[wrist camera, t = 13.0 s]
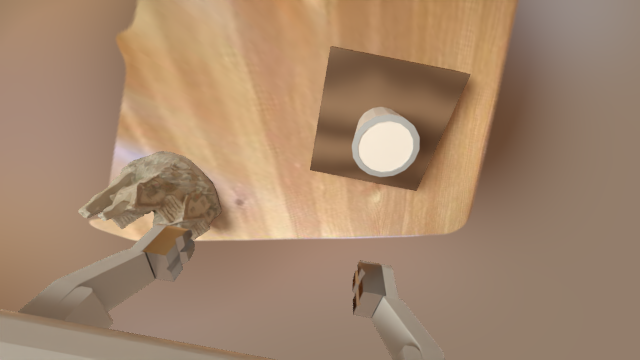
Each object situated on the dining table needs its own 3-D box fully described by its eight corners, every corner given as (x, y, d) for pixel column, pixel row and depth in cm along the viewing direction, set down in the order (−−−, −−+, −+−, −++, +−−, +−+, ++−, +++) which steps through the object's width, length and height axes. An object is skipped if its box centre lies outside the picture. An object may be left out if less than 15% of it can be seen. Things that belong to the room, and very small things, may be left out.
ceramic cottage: (114, 159, 42) (21, 215, 29) (195, 144, 39) (131, 199, 27) (163, 221, 50) (106, 286, 38) (232, 212, 48) (196, 278, 35)
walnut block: (332, 46, 30) (330, 46, 26) (452, 70, 30) (470, 74, 26) (314, 155, 38) (310, 169, 34) (408, 174, 38) (416, 190, 34)
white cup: (417, 130, 29) (434, 150, 23) (373, 163, 32) (378, 188, 26) (383, 89, 27) (392, 98, 21) (340, 127, 30) (338, 145, 24)
